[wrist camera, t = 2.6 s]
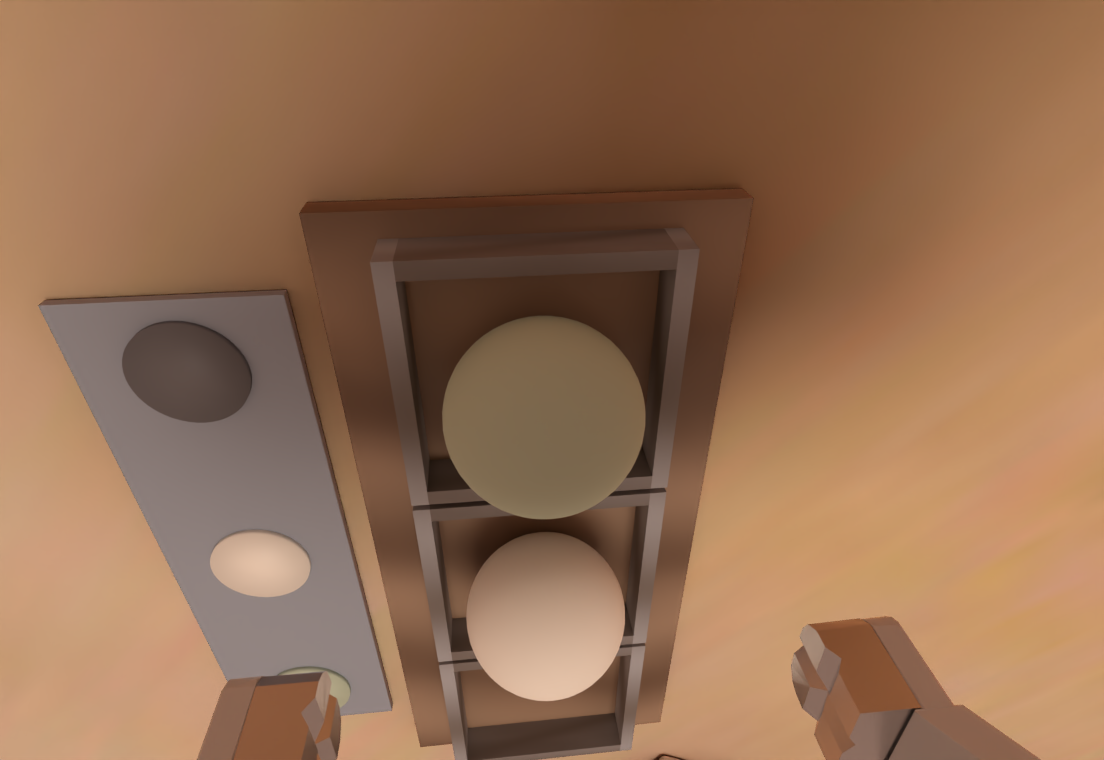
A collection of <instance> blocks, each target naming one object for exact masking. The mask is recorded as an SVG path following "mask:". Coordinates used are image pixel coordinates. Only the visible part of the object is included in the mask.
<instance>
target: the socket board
mask: <svg viewBox="0 0 1104 760" xmlns="http://www.w3.org/2000/svg"><path fill="white" fill-rule="evenodd" d="M753 199H754V198H753V197H752V196H751V195H749V194H748V193H747V192H746V191H745V190H744V189H742V188H738V189H708V190H677V191H646V192H615V193H584V194H553V195H522V196H491V197H460V198H429V199H398V200H367V201H336V202H307V203H306V204H305V206H304V207H303V209H302V210H301V212H300V213H299V214H300V219H301V223H302V228H303V232H304V236H305V241H306V245H307V250H308V254H309V258H310V263H311V267H312V272H313V276H314V280H315V285H316V289H317V294H318V298H319V302H320V307H321V311H322V316H323V320H324V324H325V329H326V333H327V338H328V342H329V346H330V351H331V355H332V360H333V364H334V368H335V373H336V377H337V382H338V386H339V390H340V395H341V399H342V404H343V408H344V412H345V417H346V421H347V426H348V430H349V434H350V439H351V443H352V448H353V452H354V456H355V461H356V465H357V470H358V474H359V478H360V483H361V487H362V492H363V496H364V500H365V505H366V509H367V514H368V518H369V522H370V527H371V531H372V536H373V540H374V544H375V549H376V553H377V558H378V562H379V566H380V571H381V575H382V580H383V584H384V588H385V593H386V597H387V602H388V606H389V610H390V615H391V619H392V624H393V628H394V632H395V637H396V641H397V646H398V650H399V654H400V659H401V663H402V668H403V672H404V676H405V681H406V685H407V690H408V694H409V698H410V703H411V707H412V712H413V716H414V720H415V725H416V729H417V734H418V738H419V742H420V747H425V746H435V745H444V744H453V750H454V756H455V760H538V759H547V758H556V757H566V756H575V755H584V754H594V753H603V752H612V751H622V750H631V748H632V741H633V733H634V726H635V725H636V724H646V723H656V722H660V720H661V714H662V708H663V703H664V697H665V692H666V686H667V680H668V675H669V669H670V664H671V658H672V652H673V647H674V641H675V636H676V630H677V624H678V619H679V613H680V608H681V602H682V596H683V591H684V585H685V580H686V574H687V568H688V563H689V557H690V552H691V546H692V540H693V535H694V529H695V523H696V518H697V512H698V507H699V501H700V495H701V490H702V484H703V479H704V473H705V467H706V462H707V456H708V451H709V445H710V439H711V434H712V428H713V423H714V417H715V411H716V406H717V400H718V395H719V389H720V383H721V378H722V372H723V367H724V361H725V355H726V350H727V344H728V339H729V333H730V327H731V322H732V316H733V311H734V305H735V299H736V294H737V288H738V283H739V277H740V271H741V266H742V260H743V255H744V249H745V243H746V238H747V232H748V227H749V221H750V215H751V210H752V204H753ZM530 316H556V317H563V318H568V319H572V320H575V321H578V322H581V323H583V324H586V325H588V326H590V327H592V328H593V329H595V330H597V331H598V332H600V333H601V334H603V335H604V336H605V337H607V338H608V339H609V340H611V341H612V342H613V343H614V344H615V345H616V346H617V347H618V348H619V349H620V351H621V352H622V353H623V354H624V355H625V357H626V358H627V360H628V361H629V362H630V364H631V366H632V368H633V370H634V372H635V374H636V376H637V378H638V380H639V383H640V386H641V389H642V393H643V397H644V403H645V431H644V436H643V442H642V446H641V449H640V452H639V454H638V457H637V459H636V461H635V463H634V465H633V467H632V469H631V471H630V472H629V474H628V475H627V476H626V478H625V479H624V480H623V482H622V483H621V484H620V485H619V486H618V488H617V489H616V490H615V491H614V492H612V493H611V494H610V495H609V496H608V497H606V498H605V499H604V500H602V501H601V502H599V503H598V504H597V505H595V506H593V507H591V508H589V509H587V510H585V511H583V512H580V513H578V514H574V515H571V516H567V517H563V518H556V519H531V518H525V517H521V516H517V515H513V514H510V513H508V512H505V511H503V510H500V509H498V508H496V507H495V506H493V505H491V504H490V503H488V502H487V501H485V500H484V499H483V498H481V497H480V496H478V495H477V494H476V493H475V492H474V491H473V490H472V489H471V488H470V487H469V486H468V484H467V483H466V482H465V481H464V480H463V478H462V477H461V476H460V474H459V473H458V471H457V469H456V468H455V466H454V464H453V462H452V460H451V458H450V455H449V453H448V450H447V447H446V443H445V439H444V434H443V421H442V409H443V402H444V396H445V392H446V388H447V385H448V382H449V380H450V378H451V375H452V373H453V371H454V369H455V367H456V365H457V364H458V362H459V361H460V359H461V358H462V356H463V355H464V354H465V353H466V352H467V350H468V349H469V348H470V347H471V346H472V345H473V344H474V343H475V342H476V341H477V340H478V339H480V338H481V337H482V336H483V335H485V334H486V333H488V332H489V331H491V330H493V329H494V328H496V327H499V326H501V325H503V324H505V323H507V322H510V321H513V320H516V319H520V318H524V317H530ZM537 532H556V533H562V534H565V535H569V536H572V537H574V538H577V539H579V540H581V541H583V542H584V543H586V544H588V545H589V546H590V547H592V548H593V549H595V550H596V551H597V552H598V553H599V554H600V555H601V556H602V557H603V558H604V559H605V561H606V562H607V563H608V565H609V566H610V568H611V569H612V571H613V572H614V574H615V576H616V578H617V580H618V583H619V585H620V588H621V591H622V595H623V600H624V606H625V626H624V633H623V637H622V641H621V644H620V647H619V650H618V652H617V654H616V656H615V658H614V660H613V662H612V664H611V665H610V667H609V668H608V669H607V671H606V672H605V673H604V674H603V675H602V677H600V678H599V679H598V680H597V681H596V682H595V683H594V684H593V685H591V686H590V687H589V688H587V689H585V690H584V691H582V692H580V693H578V694H576V695H574V696H571V697H569V698H565V699H561V700H555V701H536V700H531V699H526V698H523V697H520V696H517V695H515V694H513V693H511V692H509V691H507V690H505V689H504V688H502V687H501V686H500V685H498V684H497V683H496V682H495V681H494V680H493V679H492V678H491V677H490V676H489V675H488V674H487V673H486V672H485V670H484V669H483V668H482V666H481V665H480V663H479V662H478V660H477V658H476V656H475V654H474V652H473V649H472V647H471V644H470V640H469V635H468V631H467V620H466V612H467V603H468V598H469V594H470V590H471V587H472V584H473V582H474V580H475V577H476V575H477V574H478V572H479V570H480V569H481V567H482V566H483V564H484V563H485V562H486V560H487V559H488V558H489V557H490V556H491V555H492V554H493V553H494V552H495V551H496V550H497V549H499V548H500V547H501V546H503V545H504V544H506V543H508V542H509V541H511V540H513V539H515V538H517V537H520V536H523V535H526V534H531V533H537Z"/></svg>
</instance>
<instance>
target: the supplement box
mask: <svg viewBox="0 0 1104 760" xmlns="http://www.w3.org/2000/svg"><path fill="white" fill-rule="evenodd" d="M659 760H680V759H677V758H673V757H668V756H662V757H661V758H660V759H659Z"/></svg>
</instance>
